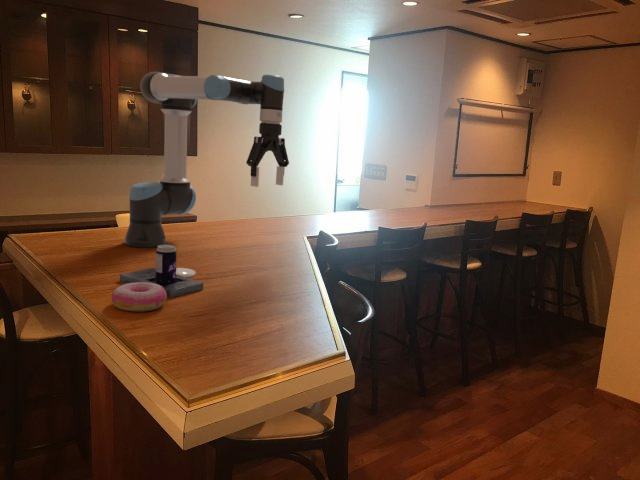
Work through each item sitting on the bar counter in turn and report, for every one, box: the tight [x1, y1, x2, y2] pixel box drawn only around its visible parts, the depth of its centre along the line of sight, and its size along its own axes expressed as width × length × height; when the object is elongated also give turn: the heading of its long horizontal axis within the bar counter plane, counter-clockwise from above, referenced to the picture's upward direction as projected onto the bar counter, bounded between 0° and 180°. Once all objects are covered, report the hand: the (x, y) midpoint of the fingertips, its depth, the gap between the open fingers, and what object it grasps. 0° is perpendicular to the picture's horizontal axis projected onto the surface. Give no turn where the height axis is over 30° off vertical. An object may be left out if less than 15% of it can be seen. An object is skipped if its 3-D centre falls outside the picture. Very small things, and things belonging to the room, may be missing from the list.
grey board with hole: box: [119, 267, 204, 299], centre depth 152 cm, size 22×12×2 cm, turn 56°
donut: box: [111, 282, 168, 313], centre depth 134 cm, size 14×13×5 cm
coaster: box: [176, 267, 196, 278], centre depth 165 cm, size 10×10×1 cm
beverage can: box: [155, 244, 178, 286], centre depth 150 cm, size 6×6×12 cm
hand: (267, 185), depth 181 cm, fingers open, 13 cm apart
